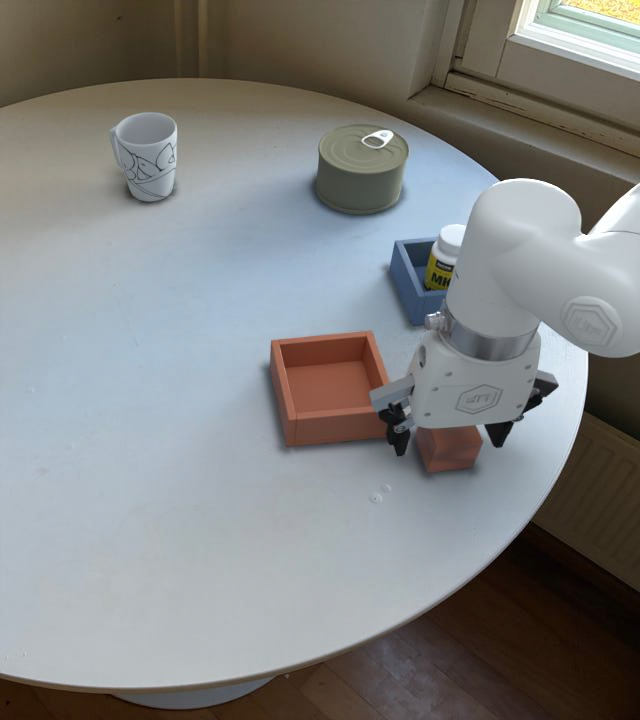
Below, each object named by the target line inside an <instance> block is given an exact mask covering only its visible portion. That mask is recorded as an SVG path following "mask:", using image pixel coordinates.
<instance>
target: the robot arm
mask: <svg viewBox="0 0 640 720" xmlns="http://www.w3.org/2000/svg"><path fill="white" fill-rule="evenodd" d="M465 226H466V230H465V233H464V237H463V240H462V243H461V247H460V250H459V254H458V257H457V260H456V264H455V267H454V271H453V274H452V278H451V281H450V284H449V288H448V291H447V294H446V297H445V299H443V301H442V304H441V308H440V310H439V311H437V312H435V313H434V314H428V315H426V316H425V324H424V326H425V332H424V333H423V335H422V337H421V338H420V340H419V342H418V344H417V346H416V348H415V351H414V352H413V355H412V357H411V361H410V362H409V365H408V368H407V371H406V373H405V376H404V377H402V378H399V379H397V380H394V381H390V383H389V384H386V385H384V386H381V387H379V388H376V389H373V390H371V391H369V392H368V396H369V399H370V403H371V405H372V407H373V408H374V410H375V411H376V413H377V414H378V415H379V418H380V419H381V420H382V421H384V422H385V423H387V424H388V426H387V430H386V437H385V439H386V442H387V444H388V446H392V447H393V450H394V452H395V453H394V454H395V456H396V457H397V458H401V457H404V456H406V451H407V449H408V446H409V442H410V439H411V436H412V434H411V429H410V428H412V427H413V426H417V427H418V426H419V427H423V428H448V427H461V426H472V425H476V426H479V425H480V426H482V425H484V429H485V430H486V433H487V435H488V438H489V440H490V443H491V445H492V446H493V447H494V448H495V449H501V448H503V446H504V445H505V442H506V440H507V438H508V436H509V435H510V433H511V431H512V429H513V427H514V424H515V423H520V422H521V421H523V420H524V418H525V415H524V414H526V413H527V412H529V411H531V410H533V409H534V408H537V407H539V406H540V405H542V404H543V399H544V398H548V396H550V395H551V394H552V393H554V392H555V391H556V390H557V389H558V388H559V386H560V385H559V382H558V380H557V378H556V377H555V375H554V373H551V372H548V371H545V370H540V369H539V364H540V357H541V348H542V337H541V335H540V333H539V332H538V330H539V327H540V325H541V323H543V324H545V325H546V326H547V327H548V328H550V329H551V330H553V331H554V332H555V333H556V334H557V335H559V336H560V337H561V338H563V339H565V340H566V341H567V342H569V343H571V344H572V345H573V346H575V347H577V348H579V349H581V350H583V351H585V352H587V353H590V354H591V355H595V356H599V357H604V358H610V359H619V358H621V359H622V358H626V357H627V358H628V357H631V356H633V355H636V354H639V353H640V182H639V183H638V184H637V185H635V186H634V187H633V188H631V189H630V190H629V191H628V192H626V193H625V194H624V195H623V196H621V197H620V198H619V199H618V200H617V201H616V202H615V203H614V204H613V205H612V206H611V207H610V208H609V209H608V210H607V211H606V212H605V214H604V215H602V217H601V218H600V219H599V220H598V221H597V222H596V223H595V224H594V226H593V227H592V229H591V230H589V232H588V233H587V235H586V234H584V233H582V229H581V228H582V214H581V210H580V208H579V206H578V204H577V203H576V200H574V198H572V196H570V194H568V193H567V192H565V191H564V190H562V189H561V188H559V187H558V186H555V185H553V184H551V183H548V182H545V181H541V180H537V179H530V178H515V179H514V178H513V179H505V180H503V181H499V182H497V183H494V184H492V185H491V186H489V187H487V188H486V189H484V190H483V192H481V193H480V194H479V195H478V197H477V198H476V200H475V201H474V203H473V205H472V208H471V211H470V213H469V217H468V219H467V223H466V225H465ZM393 401H394V402H393ZM391 402H392V403H391ZM408 407H410V412H409V413H408V414H406V413H405V411H404V410H405V409H406V408H408Z"/></svg>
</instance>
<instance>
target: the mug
mask: <svg viewBox="0 0 640 720" xmlns="http://www.w3.org/2000/svg"><path fill="white" fill-rule="evenodd" d="M108 136H109V143H110V145H111V149H112V152H113V155H114V160H115V162H116V164H117V166H118V167H119V168H120V169H122V170H123V171H122V172H123V173H124V177H125V180H126V183H127V186H128V188H129V191H130V193H131V195H132V196H133V197H134V198H135V199H137V200H139V201H142V202H148V203H149V202H150V203H151V202H158V201H161V200H163V199H166V198H167V197H168V196H169V195H171V193H172V191H173V189H174V185H175V178H176V177H175V175H176V168H177V161H178V160H177V159H178V158H177V157H178V127H177V123H176V122H175V120H174V119H173V118H172V117H170V116H169V115H167V114H164V113H161V112H152V111H151V112H139V113H135V114H132V115H129V116H127V117H126V118H123V119H122V120H121V121H120V122H119V123H118V124H117V125H115V126H113V127H112V128H111V129H110V130H109V131H108Z"/></svg>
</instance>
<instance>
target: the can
mask: <svg viewBox="0 0 640 720" xmlns="http://www.w3.org/2000/svg"><path fill="white" fill-rule="evenodd" d="M317 150H318V151H317V152H318V161H317V162H318V163H317V173H316V174H317V175H316V184H315V192H316V195H317V196H318V199H319V200H320V201H321V202H322V203H323V204H324V205H326V206H327V207H328V208H330V209H333V210H334V211H337V212H340V213H343V214H348V215H356V216H359V215H360V216H366V215H373V214H375V215H376V214H378V213H381V212H382V213H383V212H385V211H387V210H389V209H391V208H392V207H393V206H394V205H395V204H397V202H398V200H399V199H400V196H401V192H402V191H401V190H402V186H403V181H404V176H405V171H406V166H407V162H408V160H409V158H410V154H411V153H410V152H411V148H410V145H409V142H408V141H407V140H406V139H405V137H404V136H402V135H401V134H400V133H398V132H397V131H395V130H393V129H391V128H388V127H385V126H382V125H378V124H372V123H371V124H370V123H353V124H352V123H351V124H345V125H341V126H337V127H336V128H333V129H331V130H329V131H328V132H327V133H325V134H324V135H323V136H322V137H321V138H320V140H319V143H318V147H317Z"/></svg>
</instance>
